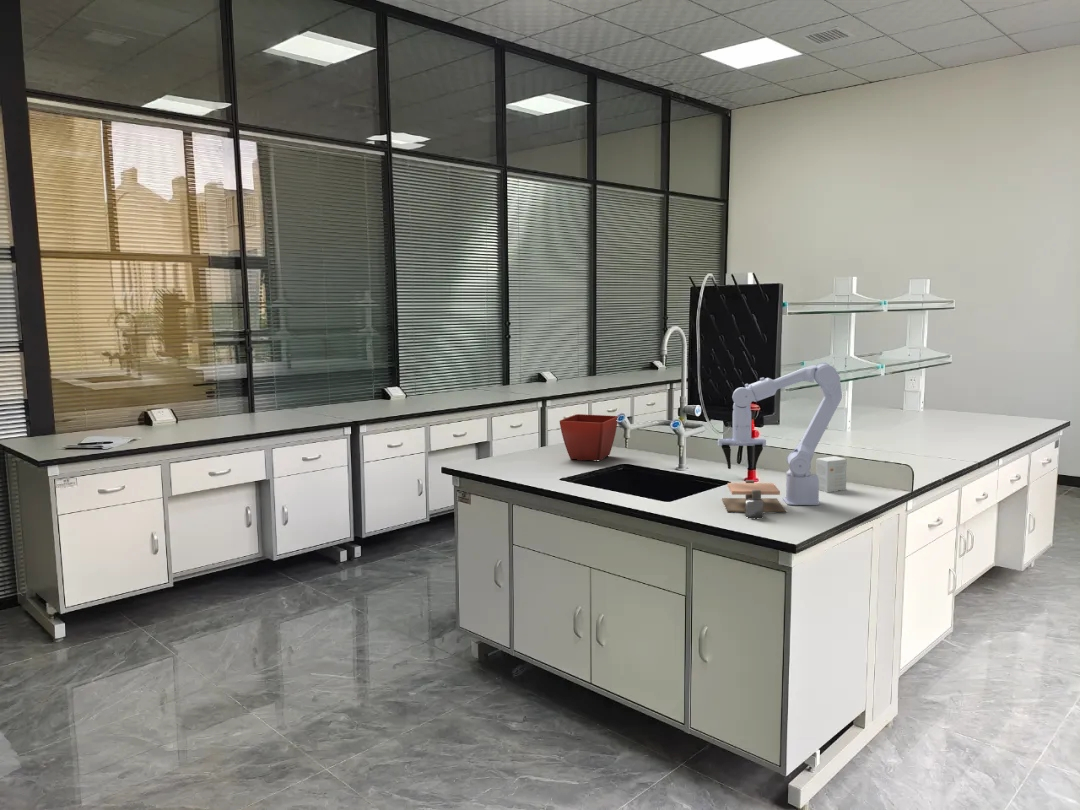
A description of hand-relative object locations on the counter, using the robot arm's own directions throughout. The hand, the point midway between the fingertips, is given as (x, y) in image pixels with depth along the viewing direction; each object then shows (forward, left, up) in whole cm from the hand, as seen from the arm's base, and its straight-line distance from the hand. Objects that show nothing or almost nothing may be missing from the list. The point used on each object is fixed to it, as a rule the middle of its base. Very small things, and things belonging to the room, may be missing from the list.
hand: (741, 468), depth 242 cm
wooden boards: (-2, +7, -10) cm, 13 cm away
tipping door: (-3, +7, -5) cm, 9 cm away
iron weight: (-1, +19, -10) cm, 22 cm away
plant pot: (+52, -69, -11) cm, 87 cm away
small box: (-31, -15, -11) cm, 36 cm away
